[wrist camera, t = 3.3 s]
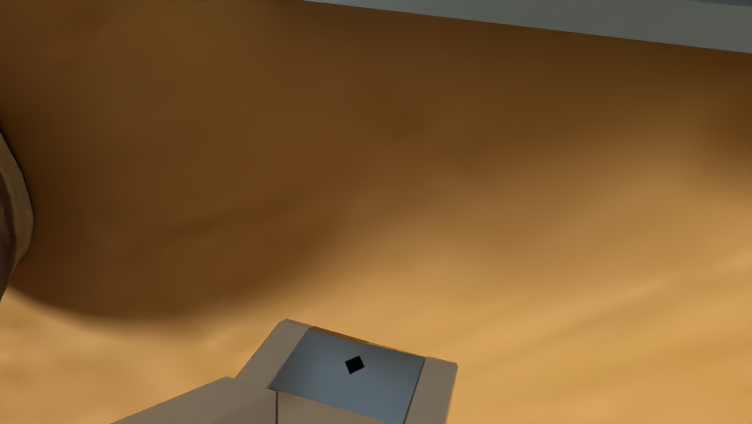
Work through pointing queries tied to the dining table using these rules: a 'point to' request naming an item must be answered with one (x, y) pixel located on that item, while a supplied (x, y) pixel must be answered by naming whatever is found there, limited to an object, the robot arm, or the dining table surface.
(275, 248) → the dining table surface
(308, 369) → the robot arm
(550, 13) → the tray
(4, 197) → the ceramic jug
